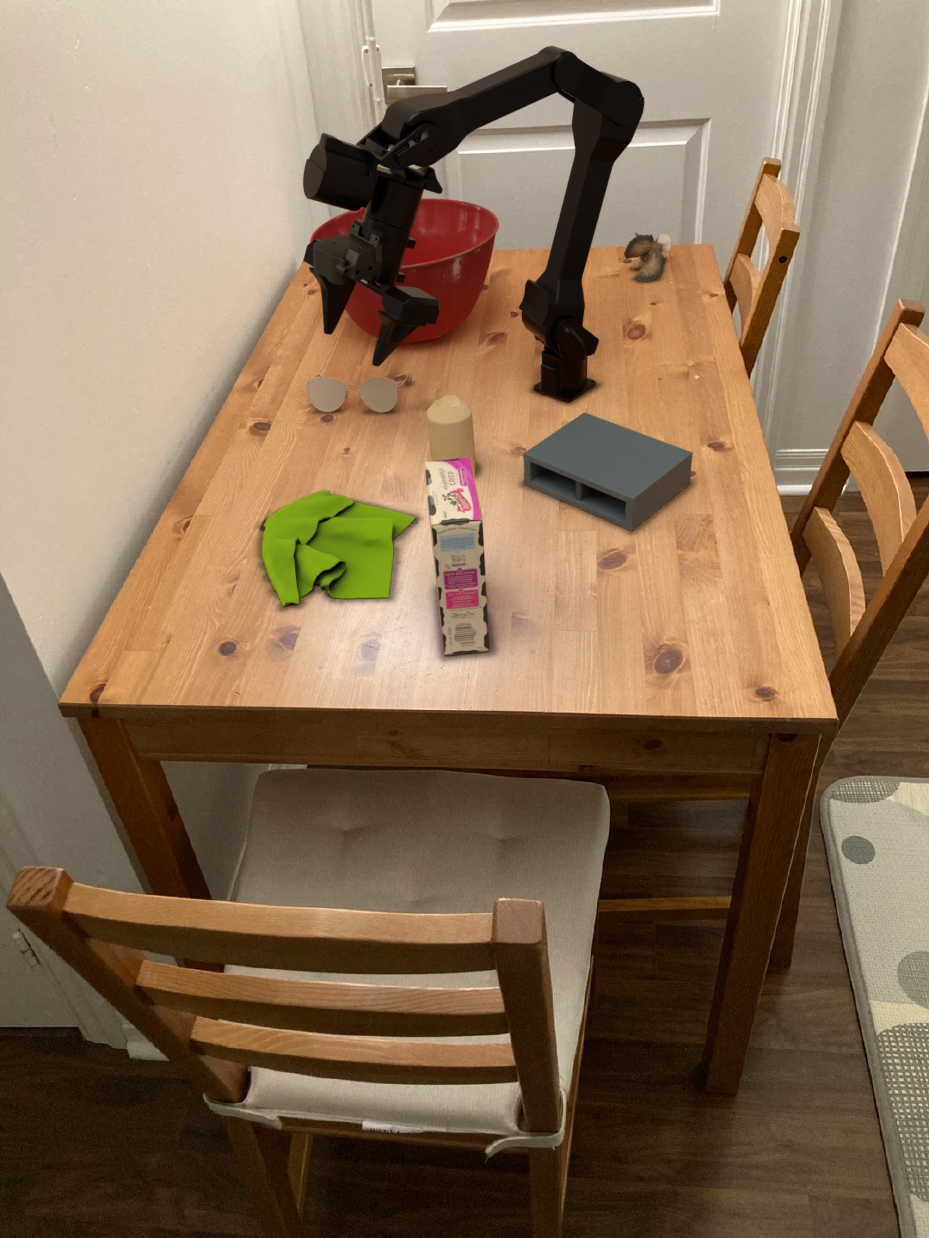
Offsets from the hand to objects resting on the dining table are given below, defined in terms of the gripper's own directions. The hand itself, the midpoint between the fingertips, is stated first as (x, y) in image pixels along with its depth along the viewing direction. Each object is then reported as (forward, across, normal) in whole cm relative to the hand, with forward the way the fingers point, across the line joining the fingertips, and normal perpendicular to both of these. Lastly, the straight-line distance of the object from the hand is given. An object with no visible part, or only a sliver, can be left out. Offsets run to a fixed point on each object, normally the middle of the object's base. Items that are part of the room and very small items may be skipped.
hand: (351, 349), depth 120 cm
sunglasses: (+11, -9, +14) cm, 20 cm away
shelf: (+3, +31, +17) cm, 35 cm away
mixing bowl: (+4, -20, +33) cm, 39 cm away
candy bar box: (+14, +36, -10) cm, 40 cm away
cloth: (+18, +16, -11) cm, 26 cm away
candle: (+10, +15, +8) cm, 20 cm away
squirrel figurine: (-14, -5, +68) cm, 70 cm away
